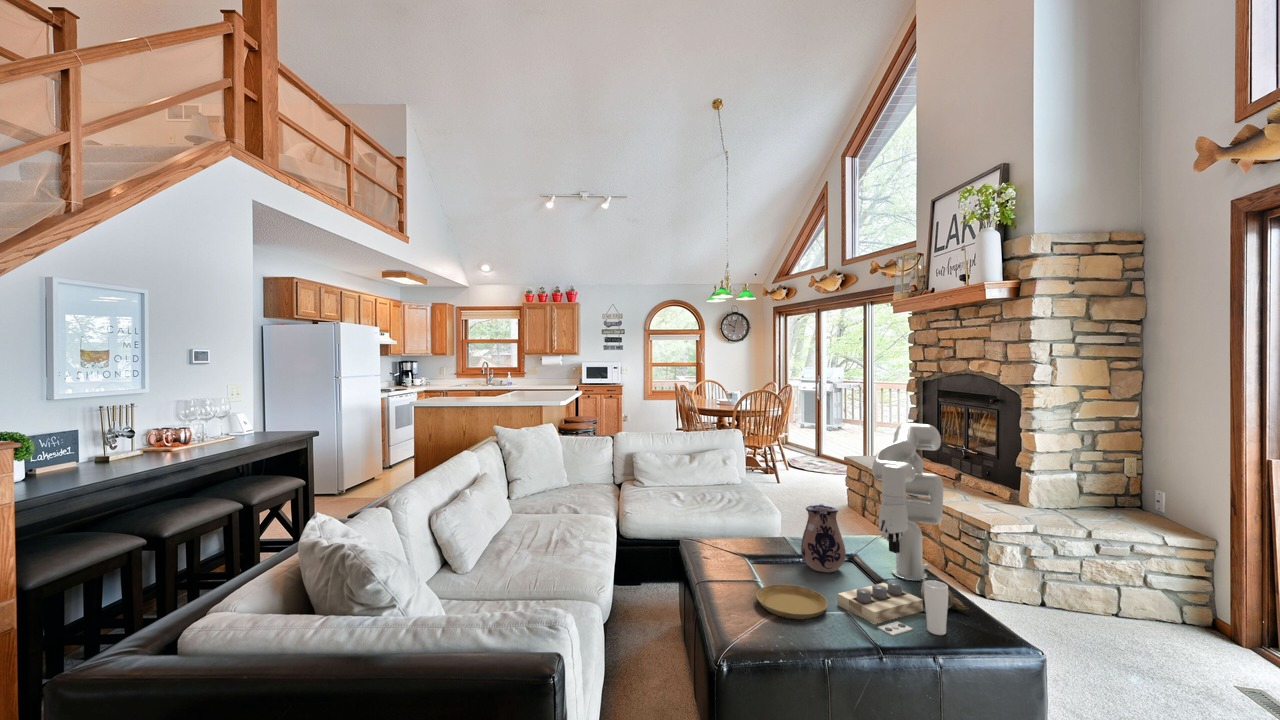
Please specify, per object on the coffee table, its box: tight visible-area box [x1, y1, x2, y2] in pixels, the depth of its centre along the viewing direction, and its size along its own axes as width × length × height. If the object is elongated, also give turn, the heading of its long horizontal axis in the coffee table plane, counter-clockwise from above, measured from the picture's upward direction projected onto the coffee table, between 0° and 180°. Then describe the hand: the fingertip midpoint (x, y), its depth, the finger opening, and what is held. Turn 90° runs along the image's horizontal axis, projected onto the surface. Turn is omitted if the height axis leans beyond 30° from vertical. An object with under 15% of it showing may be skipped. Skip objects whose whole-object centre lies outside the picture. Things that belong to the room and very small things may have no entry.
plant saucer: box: [755, 583, 829, 620], centre depth 188 cm, size 24×24×3 cm
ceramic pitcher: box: [800, 503, 847, 573], centre depth 226 cm, size 18×21×25 cm
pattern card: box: [877, 620, 914, 637], centre depth 172 cm, size 9×6×1 cm, turn 115°
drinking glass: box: [924, 579, 949, 636], centre depth 170 cm, size 7×7×15 cm
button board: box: [837, 582, 924, 625], centre depth 187 cm, size 23×16×4 cm
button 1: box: [856, 588, 871, 605], centre depth 184 cm, size 5×5×5 cm
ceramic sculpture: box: [920, 579, 970, 610], centre depth 188 cm, size 11×9×15 cm
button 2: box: [887, 581, 903, 597], centre depth 190 cm, size 5×5×5 cm
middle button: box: [871, 584, 887, 601], centre depth 187 cm, size 5×5×5 cm
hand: (894, 551), depth 190 cm, fingers closed
